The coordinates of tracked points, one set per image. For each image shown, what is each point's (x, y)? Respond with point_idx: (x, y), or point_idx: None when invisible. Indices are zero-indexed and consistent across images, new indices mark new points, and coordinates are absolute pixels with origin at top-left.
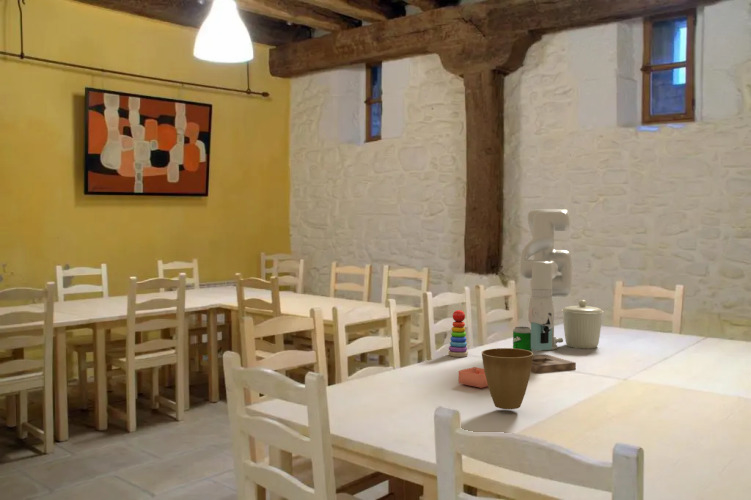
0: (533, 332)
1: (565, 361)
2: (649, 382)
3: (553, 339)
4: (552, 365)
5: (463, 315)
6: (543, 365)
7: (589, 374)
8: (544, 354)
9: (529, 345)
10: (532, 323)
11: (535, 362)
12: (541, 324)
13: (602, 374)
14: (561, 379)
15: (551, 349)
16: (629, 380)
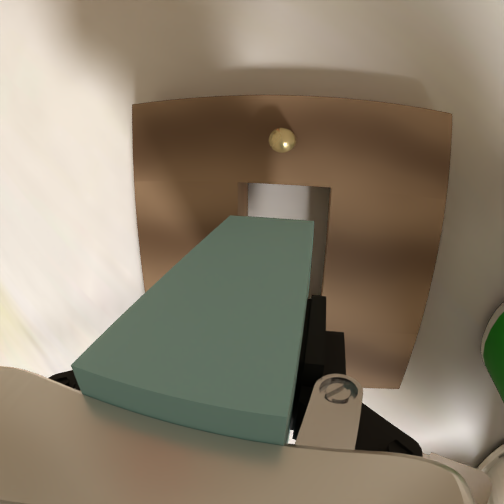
0: (232, 287)
1: None
2: (11, 351)
3: (489, 497)
4: (139, 222)
5: None
6: (135, 161)
7: (83, 311)
8: (400, 382)
9: (501, 377)
10: (224, 397)
11: (225, 171)
12: (22, 369)
13: (81, 345)
14: (38, 152)
15: (479, 465)
16: (21, 335)
